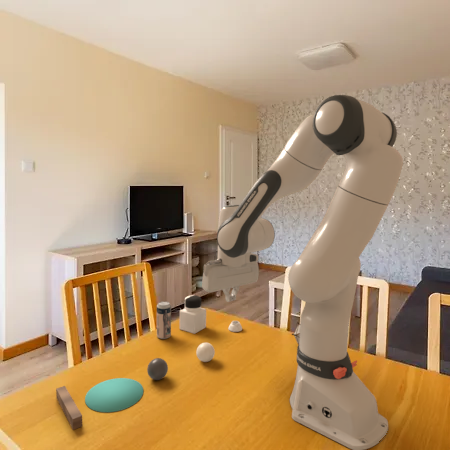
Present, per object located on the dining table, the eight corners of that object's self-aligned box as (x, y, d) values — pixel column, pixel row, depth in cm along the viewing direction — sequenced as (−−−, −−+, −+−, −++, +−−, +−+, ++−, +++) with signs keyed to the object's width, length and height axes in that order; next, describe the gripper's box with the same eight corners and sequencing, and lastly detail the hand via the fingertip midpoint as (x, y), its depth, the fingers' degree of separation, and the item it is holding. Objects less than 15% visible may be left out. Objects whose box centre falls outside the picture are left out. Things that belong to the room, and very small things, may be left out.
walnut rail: (82, 426, 77) (82, 415, 76) (72, 429, 76) (72, 419, 75) (65, 395, 88) (64, 385, 87) (56, 398, 86) (56, 388, 86)
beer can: (167, 340, 119) (167, 306, 117) (154, 339, 120) (154, 305, 118) (172, 334, 123) (172, 301, 122) (160, 333, 124) (159, 300, 123)
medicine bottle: (206, 327, 130) (206, 296, 129) (194, 334, 124) (194, 301, 123) (191, 323, 134) (191, 292, 132) (179, 329, 128) (179, 297, 126)
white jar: (225, 329, 129) (234, 334, 125) (225, 321, 129) (234, 326, 125) (236, 326, 132) (244, 330, 128) (236, 318, 132) (245, 323, 128)
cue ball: (218, 361, 105) (218, 344, 105) (203, 367, 102) (203, 349, 101) (207, 354, 110) (207, 337, 109) (192, 359, 106) (192, 342, 106)
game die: (307, 360, 115) (313, 345, 108) (285, 344, 119) (289, 329, 112) (320, 340, 120) (326, 324, 113) (298, 326, 124) (303, 310, 117)
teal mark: (153, 397, 87) (152, 396, 87) (96, 420, 79) (96, 419, 79) (129, 373, 98) (129, 372, 98) (77, 390, 89) (77, 390, 89)
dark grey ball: (171, 379, 95) (171, 360, 95) (153, 386, 92) (153, 366, 91) (161, 370, 100) (161, 352, 99) (143, 377, 96) (143, 358, 96)
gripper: (210, 263, 99) (209, 310, 101) (262, 255, 112) (260, 297, 114) (198, 259, 104) (197, 304, 106) (248, 252, 117) (247, 292, 118)
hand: (230, 300), depth 110 cm, fingers closed
